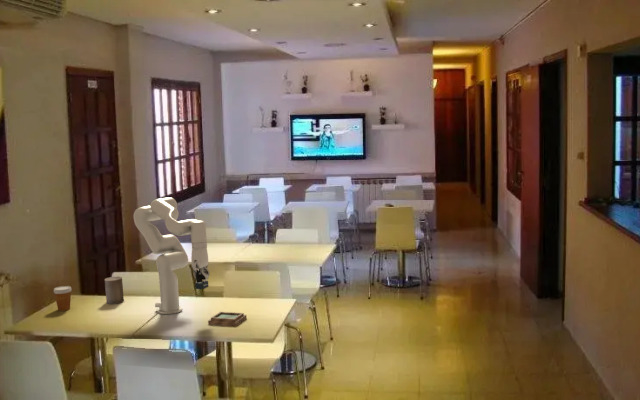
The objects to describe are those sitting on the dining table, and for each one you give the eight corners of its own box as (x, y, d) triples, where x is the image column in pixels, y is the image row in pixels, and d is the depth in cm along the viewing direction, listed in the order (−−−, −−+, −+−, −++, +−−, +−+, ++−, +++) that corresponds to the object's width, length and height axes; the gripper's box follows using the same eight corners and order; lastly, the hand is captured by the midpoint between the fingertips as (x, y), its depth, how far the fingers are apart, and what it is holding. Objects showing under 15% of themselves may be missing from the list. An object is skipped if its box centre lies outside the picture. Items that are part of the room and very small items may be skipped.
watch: (206, 289, 370) (204, 267, 369) (192, 288, 373) (191, 267, 372) (211, 286, 375) (210, 265, 374) (198, 286, 378) (196, 265, 377)
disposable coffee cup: (51, 311, 404) (49, 289, 403) (63, 306, 413) (61, 285, 411) (65, 312, 400) (63, 290, 399) (76, 307, 409) (75, 286, 408)
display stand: (208, 324, 367) (208, 318, 367) (219, 317, 380) (219, 311, 379) (236, 326, 363) (235, 319, 362) (246, 318, 375) (246, 312, 375)
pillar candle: (127, 299, 422) (125, 274, 420) (118, 304, 413) (116, 278, 411) (111, 299, 424) (109, 274, 423) (103, 304, 415) (100, 278, 413)
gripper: (200, 242, 380) (202, 276, 383) (184, 248, 365) (187, 284, 367) (213, 242, 378) (215, 277, 380) (198, 248, 362) (200, 284, 364)
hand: (201, 280), depth 373 cm, fingers closed on watch, 4 cm apart
